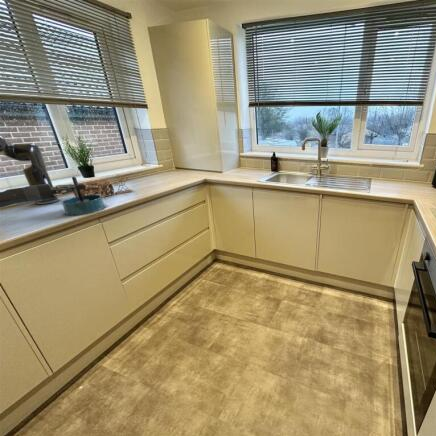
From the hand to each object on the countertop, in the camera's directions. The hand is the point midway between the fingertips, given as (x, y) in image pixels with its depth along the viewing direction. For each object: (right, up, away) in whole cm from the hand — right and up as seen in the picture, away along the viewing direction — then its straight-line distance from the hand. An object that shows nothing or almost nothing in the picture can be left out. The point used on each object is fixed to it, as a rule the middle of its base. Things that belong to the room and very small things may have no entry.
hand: (84, 186), depth 126 cm
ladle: (-2, -11, +2) cm, 11 cm away
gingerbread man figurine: (-2, 0, +33) cm, 33 cm away
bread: (-13, -4, +24) cm, 28 cm away
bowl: (0, -13, +2) cm, 13 cm away
